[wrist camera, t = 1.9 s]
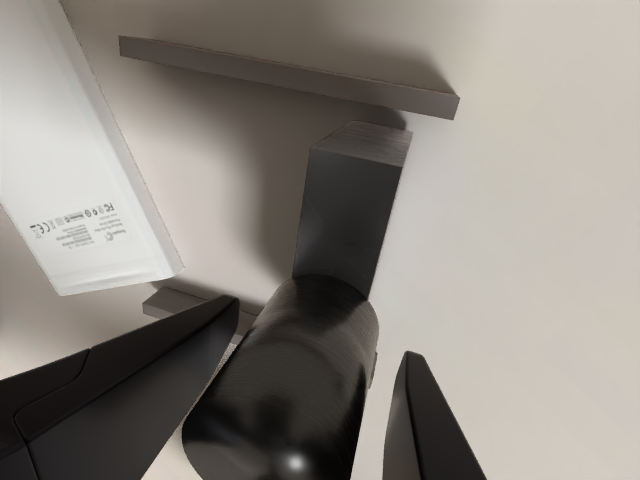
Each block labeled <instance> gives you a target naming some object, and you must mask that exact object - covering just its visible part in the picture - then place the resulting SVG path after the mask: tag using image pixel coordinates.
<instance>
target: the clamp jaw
mask: <svg viewBox="0 0 640 480" xmlns="http://www.w3.org/2000/svg"><path fill="white" fill-rule="evenodd" d="M412 135H413V132H410V131H405V130H400V129H395V128H390V127H385V126H381V125H376V124H371V123H366V122H361V121H356V120H353V121H351V122H350V123H348V124H346V125H345V126H343V127H342V128H340V129H338V130H337V131H335V132H334V133H332V134H330V135H329V136H327V137H325V138H324V139H322V140H321V141H319V142H317V143H316V144H314V145H313V146H311V147H310V152H309V159H308V167H307V174H306V181H305V188H304V195H303V202H302V209H301V216H300V224H299V231H298V238H297V245H296V252H295V259H294V266H293V273H292V278H291V279H289V280H288V281H286V282H284V283H283V284H282V285H281V286H280V287H279V288H278V289H277V290H276V292H275V293H274V294H273V296H272V297H271V299H270V300H269V302H268V303H267V304H266V306H265V307H264V309H263V310H262V311H261V313H260V314H259V316H258V317H257V319H256V320H255V321H254V323H253V324H252V326H251V327H250V328H249V330H248V331H247V333H246V334H245V335H244V337H243V338H242V340H241V341H240V343H239V344H238V345H237V347H236V348H235V350H234V351H233V352H232V354H231V355H230V357H229V358H228V360H227V361H226V362H225V364H224V365H223V367H222V368H221V369H220V371H219V372H218V374H217V375H216V377H215V378H214V379H213V381H212V382H211V384H210V385H209V386H208V388H207V389H206V391H205V392H204V393H203V395H202V396H201V398H200V399H199V401H198V402H197V403H196V405H195V406H194V408H193V409H192V410H191V412H190V413H189V415H188V416H187V418H186V420H185V421H184V424H183V427H182V444H183V447H184V451H185V453H186V455H187V458H188V460H189V461H190V463H191V465H192V466H193V468H194V469H195V470H196V472H197V473H198V474H199V476H200V477H201V478H202V479H203V480H350V478H351V473H352V467H353V462H354V457H355V452H356V447H357V442H358V437H359V432H360V427H361V422H362V417H363V412H364V407H365V402H366V397H367V391H368V386H369V381H370V376H371V371H372V366H373V361H374V356H375V351H376V346H377V341H378V336H379V325H378V319H377V316H376V313H375V311H374V309H373V307H372V306H371V304H370V303H369V301H368V300H369V297H370V293H371V289H372V285H373V281H374V278H375V274H376V270H377V266H378V263H379V259H380V255H381V251H382V248H383V244H384V240H385V236H386V233H387V229H388V225H389V221H390V217H391V214H392V210H393V206H394V202H395V199H396V195H397V191H398V187H399V184H400V180H401V176H402V172H403V168H404V165H405V161H406V157H407V153H408V150H409V146H410V142H411V138H412Z"/></svg>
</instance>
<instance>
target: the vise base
mask: <svg viewBox="0 0 640 480" xmlns="http://www.w3.org/2000/svg"><path fill="white" fill-rule="evenodd" d="M119 46H120V56H124V57H129V58H134V59H139V60H145V61H150V62H155V63H160V64H165V65H170V66H176V67H181V68H186V69H191V70H196V71H201V72H207V73H212V74H217V75H222V76H227V77H232V78H237V79H243V80H248V81H253V82H258V83H263V84H268V85H274V86H279V87H284V88H289V89H294V90H299V91H305V92H310V93H315V94H320V95H325V96H330V97H336V98H341V99H346V100H351V101H356V102H361V103H366V104H372V105H377V106H382V107H387V108H392V109H397V110H403V111H408V112H413V113H418V114H423V115H428V116H434V117H439V118H444V119H449V120H454V116H455V113H456V110H457V107H458V104H459V100H460V97H459V96H457V95H454V94H449V93H443V92H438V91H432V90H427V89H421V88H416V87H410V86H405V85H399V84H394V83H388V82H383V81H377V80H372V79H366V78H361V77H355V76H350V75H344V74H339V73H333V72H328V71H322V70H317V69H311V68H306V67H300V66H295V65H289V64H284V63H278V62H273V61H267V60H262V59H256V58H251V57H245V56H239V55H234V54H228V53H223V52H217V51H212V50H206V49H201V48H195V47H190V46H184V45H179V44H173V43H168V42H162V41H157V40H151V39H144V38H135V37H127V36H119ZM206 301H207V300H204V299H201V298H198V297H195V296H191V295H188V294H185V293H182V292H179V291H176V290H172V289H169V288H166V287H162V288H161V289H160V290H158V291H157V292H156V293H155V294H153V295H152V296H151V297H150V298H148V299H147V300H146V301H145V302H143V303H142V304H143V313H144V314H147V315H150V316H153V317H156V318H159V319H163V318H166V317H168V316H171V315H173V314H176V313H178V312H181V311H183V310H186V309H188V308H191V307H193V306H196V305H198V304H201V303H203V302H206ZM257 317H258V316H255V315H252V314H248V313H245V312H242V311H239V322H238V327H237V330H236V332H235V334H234V336H233V338H232V339H231V341H230V342H231V343H234V344H237V345H238V344H239V343H240V341H241V340H242V338H243V337H244V335H245V334H246V333H247V331H248V330H249V328H250V327H251V326H252V324H253V323H254V321H255V320H256V319H257ZM376 360H377V354H375V356H374V361H373V366H372V371H371V376H370V381H369V386H368V389H370V387H371V384H372V380H373V376H374V370H375V365H376Z"/></svg>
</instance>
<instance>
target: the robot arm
mask: <svg viewBox="0 0 640 480" xmlns="http://www.w3.org/2000/svg"><path fill="white" fill-rule="evenodd" d="M239 307H240V302H239V299H238V298H236V297H233V296H230V295H225V294H224V295H221V296H218V297H216V298H213V299H211V300H208V301H206V302H203V303H201V304H198V305H196V306H193V307H191V308H188V309H186V310H183V311H181V312H178V313H176V314H173V315H171V316H168V317H166V318H163V319H161V320H158V321H156V322H153V323H151V324H148V325H146V326H143V327H141V328H138V329H136V330H133V331H131V332H128V333H126V334H123V335H120V336H118V337H115V338H113V339H110V340H108V341H105V342H103V343H100V344H98V345H95V346H93V347H92V348H91V349H89V348H88V349H85V350H83V351H80V352H78V353H75V354H73V355H70V356H67V357H65V358H62V359H59V360H57V361H54V362H51V363H49V364H46V365H44V366H41V367H38V368H35V369H32V370H29V371H26V372H23V373H20V374H17V375H14V376H11V377H8V378H5V379H2V380H0V480H141V478H142V477H143V476H144V474H145V473H146V471H147V470H148V468H149V467H150V465H151V464H152V463H153V461H154V460H155V458H156V457H157V455H158V454H159V452H160V451H161V450H162V448H163V447H164V445H165V444H166V442H167V441H168V439H169V438H170V437H171V435H172V434H173V432H174V431H175V429H176V428H177V427H178V425H179V424H180V422H181V421H182V419H183V418H184V416H185V415H186V414H187V412H188V411H189V409H190V408H191V406H192V405H193V403H194V402H195V401H196V399H197V398H198V396H199V395H200V393H201V392H202V390H203V389H204V387H205V386H206V384H207V383H208V381H209V380H210V378H211V376H212V374H213V373H214V371H215V369H216V367H217V365H218V364H219V362H220V360H221V358H222V356H223V354H224V352H225V351H226V349H227V347H228V345H229V343H230V341H231V339H232V338H233V336H234V334H235V332H236V330H237V327H238V322H239ZM382 480H487V478H486V476H485V475H484V473H483V471H482V469H481V467H480V465H479V463H478V461H477V459H476V457H475V455H474V453H473V451H472V449H471V447H470V446H469V444H468V442H467V440H466V438H465V436H464V434H463V432H462V430H461V428H460V426H459V424H458V422H457V420H456V418H455V416H454V415H453V413H452V411H451V409H450V407H449V405H448V403H447V401H446V399H445V397H444V395H443V393H442V391H441V389H440V387H439V385H438V384H437V382H436V380H435V378H434V376H433V374H432V372H431V370H430V368H429V366H428V364H427V362H426V360H425V358H424V357H423V356H422V355H421V354H418V353H414V352H411V351H406V352H405V353H404V356H403V358H402V361H401V364H400V367H399V370H398V373H397V376H396V380H395V384H394V390H393V396H392V402H391V407H390V413H389V419H388V424H387V430H386V437H385V444H384V458H383V477H382Z"/></svg>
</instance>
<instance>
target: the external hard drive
mask: <svg viewBox="0 0 640 480" xmlns="http://www.w3.org/2000/svg"><path fill="white" fill-rule="evenodd" d="M0 203H1V205H2V207H3V208H4V210H5V211H6V213H7V215H8V216H9V218H10V219H11V221H12V222H13V224H14V226H15V227H16V229H17V230H18V232H19V234H20V235H21V237H22V238H23V240H24V241H25V243H26V244H27V246H28V248H29V249H30V251H31V252H32V254H33V256H34V257H35V259H36V260H37V262H38V264H39V265H40V267H41V268H42V270H43V271H44V273H45V275H46V276H47V278H48V280H49V282H50V283H51V285H52V286H53V288H54V289H55V291H56V293H57V294H58V295H59V296H67V295H73V294H79V293H84V292H90V291H96V290H102V289H108V288H114V287H121V286H127V285H133V284H139V283H145V282H151V281H157V280H163V279H167V278H170V277H173V276H175V275H176V274H178V273H179V272H180V271H181V270H183V269H184V268H185V267H184V265H183V263H182V261H181V258H180V256H179V254H178V252H177V250H176V248H175V246H174V243H173V241H172V239H171V237H170V235H169V233H168V231H167V229H166V227H165V224H164V222H163V220H162V218H161V216H160V214H159V212H158V209H157V207H156V205H155V203H154V201H153V199H152V197H151V195H150V192H149V190H148V188H147V186H146V184H145V182H144V180H143V178H142V175H141V173H140V171H139V169H138V167H137V165H136V163H135V161H134V158H133V156H132V154H131V152H130V150H129V148H128V146H127V144H126V141H125V139H124V137H123V135H122V133H121V131H120V129H119V127H118V125H117V122H116V120H115V118H114V116H113V114H112V112H111V110H110V108H109V106H108V103H107V101H106V99H105V97H104V95H103V93H102V91H101V88H100V86H99V84H98V82H97V80H96V78H95V75H94V73H93V71H92V69H91V67H90V65H89V63H88V61H87V59H86V57H85V55H84V52H83V50H82V48H81V46H80V44H79V42H78V40H77V38H76V35H75V33H74V31H73V29H72V27H71V25H70V23H69V21H68V19H67V16H66V14H65V12H64V10H63V8H62V6H61V4H60V2H59V0H0Z"/></svg>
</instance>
